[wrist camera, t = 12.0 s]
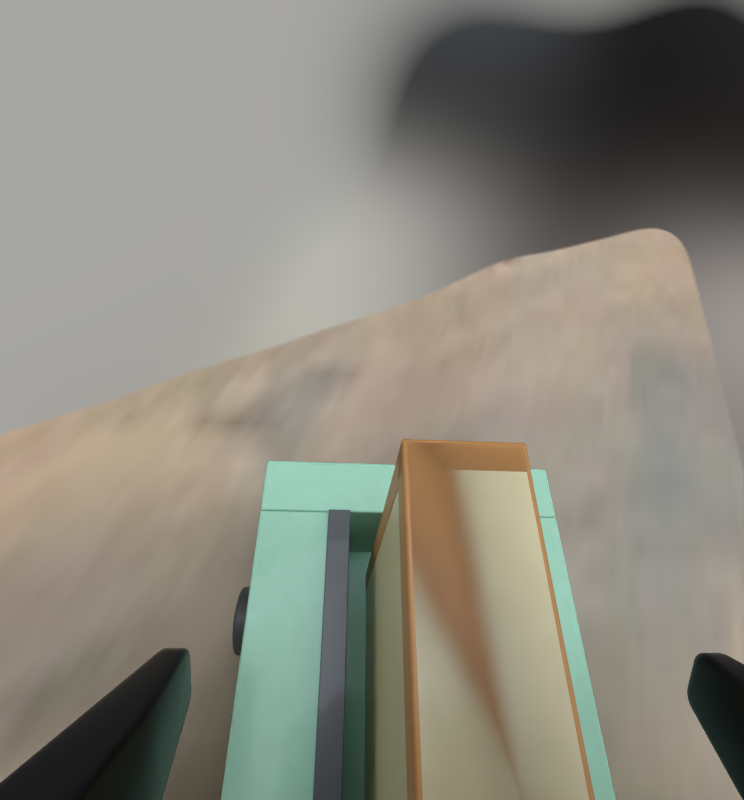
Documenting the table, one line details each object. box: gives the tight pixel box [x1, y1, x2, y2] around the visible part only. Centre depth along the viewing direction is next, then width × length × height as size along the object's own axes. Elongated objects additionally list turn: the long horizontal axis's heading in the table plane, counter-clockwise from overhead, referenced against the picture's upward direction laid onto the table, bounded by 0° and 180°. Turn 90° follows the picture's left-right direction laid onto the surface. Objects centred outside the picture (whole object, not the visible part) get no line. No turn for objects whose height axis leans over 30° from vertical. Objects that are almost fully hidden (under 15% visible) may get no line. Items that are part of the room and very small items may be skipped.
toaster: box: [221, 461, 616, 800], centre depth 12 cm, size 12×10×5 cm
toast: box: [364, 439, 595, 800], centre depth 10 cm, size 8×2×10 cm, turn 0°
